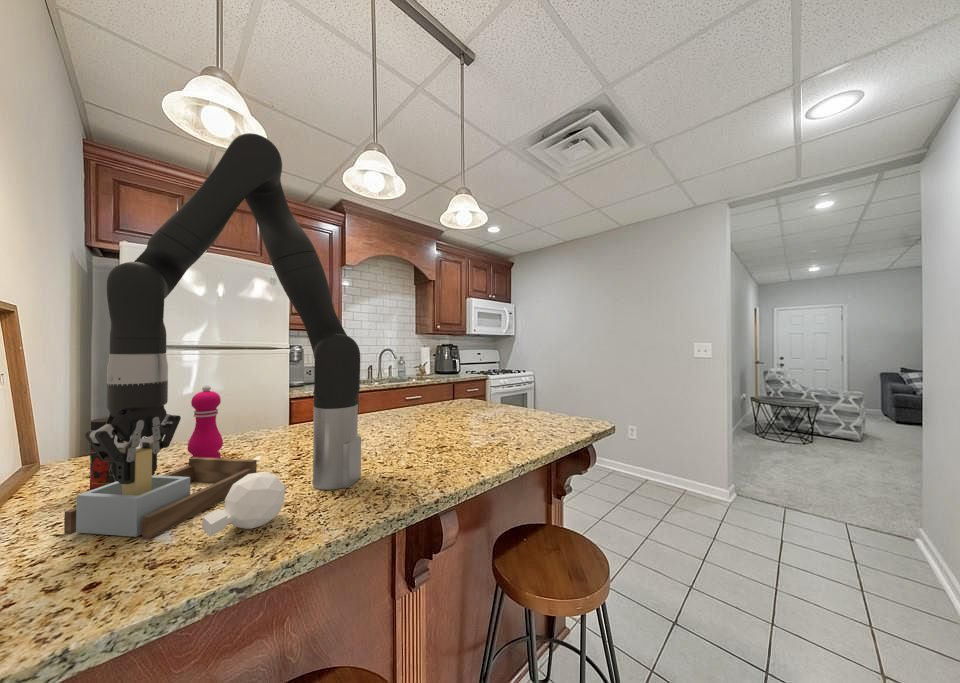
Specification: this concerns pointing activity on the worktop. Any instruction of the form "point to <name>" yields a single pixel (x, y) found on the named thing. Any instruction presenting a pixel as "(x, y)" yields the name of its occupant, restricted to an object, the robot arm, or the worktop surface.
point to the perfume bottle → (248, 503)
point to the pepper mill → (205, 425)
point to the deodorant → (100, 462)
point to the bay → (181, 510)
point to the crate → (128, 500)
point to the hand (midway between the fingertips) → (137, 479)
